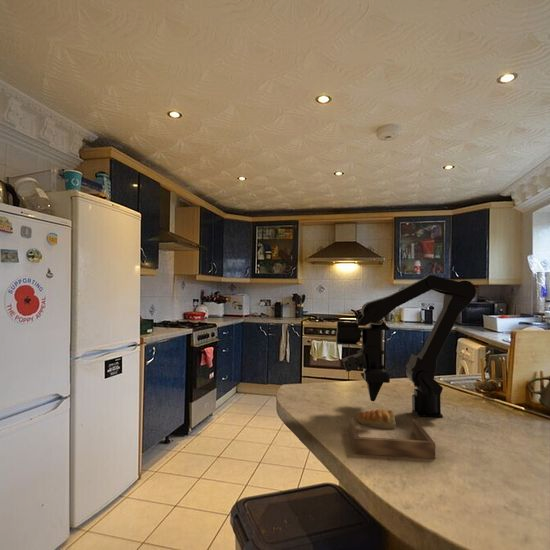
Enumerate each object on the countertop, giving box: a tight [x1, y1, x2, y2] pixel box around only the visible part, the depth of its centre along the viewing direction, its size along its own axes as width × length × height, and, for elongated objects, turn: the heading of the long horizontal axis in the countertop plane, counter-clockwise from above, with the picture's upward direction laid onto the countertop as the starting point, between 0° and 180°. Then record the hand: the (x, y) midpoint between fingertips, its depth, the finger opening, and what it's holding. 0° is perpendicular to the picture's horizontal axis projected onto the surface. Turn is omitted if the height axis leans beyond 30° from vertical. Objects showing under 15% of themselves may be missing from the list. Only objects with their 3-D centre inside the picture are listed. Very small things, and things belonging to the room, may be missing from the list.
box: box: [348, 416, 436, 459], centre depth 79 cm, size 16×14×3 cm
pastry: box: [357, 408, 397, 430], centre depth 91 cm, size 9×7×4 cm
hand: (372, 400), depth 101 cm, fingers closed
